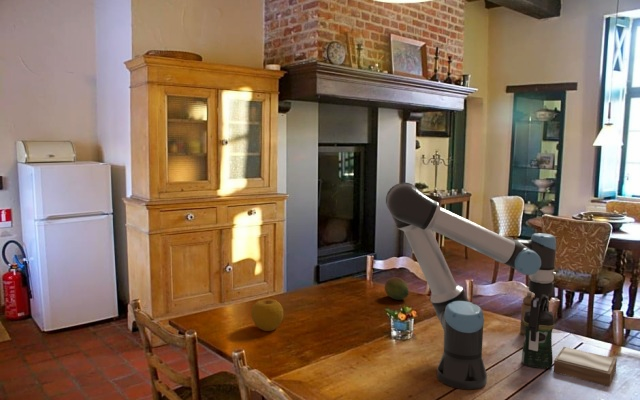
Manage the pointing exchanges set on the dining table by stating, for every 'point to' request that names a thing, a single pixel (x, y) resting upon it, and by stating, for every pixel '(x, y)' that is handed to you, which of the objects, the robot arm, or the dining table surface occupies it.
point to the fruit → (396, 288)
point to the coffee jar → (539, 342)
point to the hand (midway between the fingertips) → (537, 344)
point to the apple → (267, 314)
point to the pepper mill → (525, 306)
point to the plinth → (585, 366)
